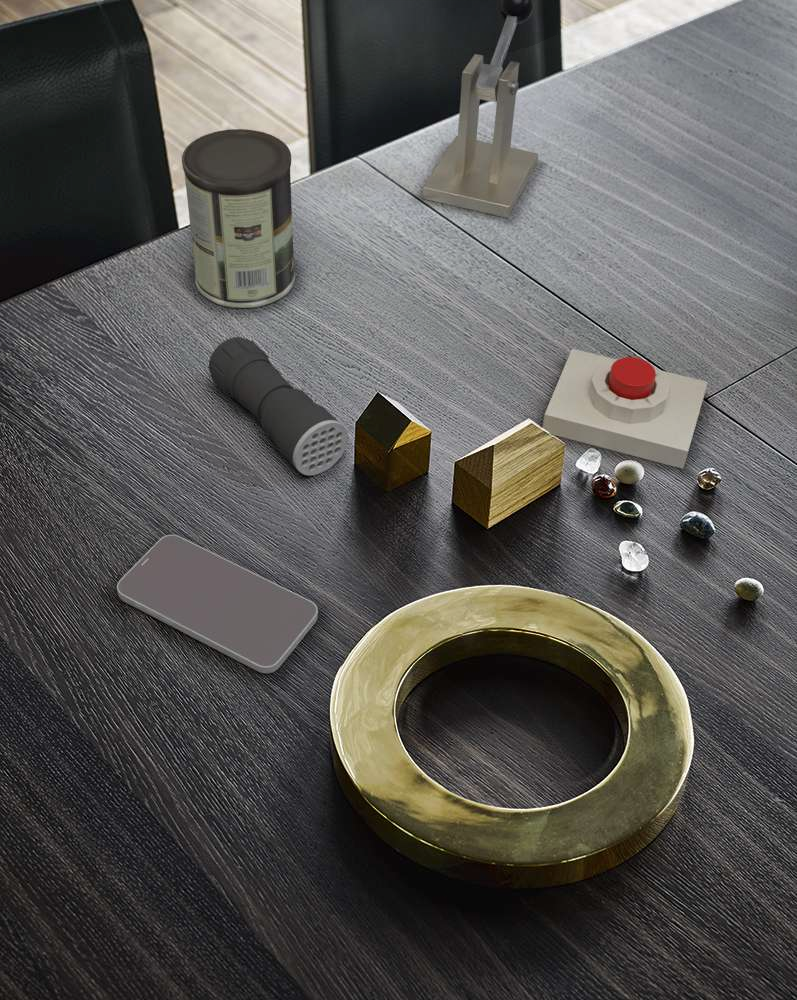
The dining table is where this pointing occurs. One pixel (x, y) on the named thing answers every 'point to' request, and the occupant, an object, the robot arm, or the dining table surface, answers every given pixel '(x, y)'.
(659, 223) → the dining table surface
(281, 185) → the coffee can
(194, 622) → the smartphone
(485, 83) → the lever
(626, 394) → the stop button
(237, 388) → the flashlight
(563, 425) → the stop box
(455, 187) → the stand
